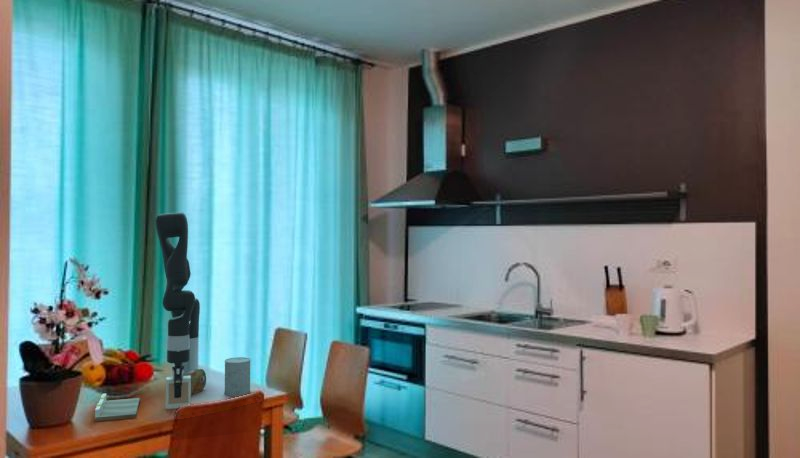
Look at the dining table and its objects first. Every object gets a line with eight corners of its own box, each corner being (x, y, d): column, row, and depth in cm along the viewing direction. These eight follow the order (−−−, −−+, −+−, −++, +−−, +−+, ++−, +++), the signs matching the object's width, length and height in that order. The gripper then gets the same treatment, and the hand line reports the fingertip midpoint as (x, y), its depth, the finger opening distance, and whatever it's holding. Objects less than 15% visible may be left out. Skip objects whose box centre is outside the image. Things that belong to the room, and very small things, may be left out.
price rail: (102, 400, 208) (102, 393, 208) (106, 400, 209) (106, 392, 209) (94, 417, 189) (94, 409, 189) (99, 417, 190) (99, 408, 190)
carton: (166, 405, 207) (166, 377, 207) (190, 403, 210) (190, 375, 210) (165, 409, 203) (166, 380, 203) (190, 407, 206) (190, 378, 206)
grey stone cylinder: (255, 392, 225) (255, 360, 225) (232, 397, 218) (232, 363, 218) (242, 387, 232) (242, 356, 232) (219, 392, 225) (219, 359, 225)
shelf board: (102, 404, 208) (102, 400, 208) (139, 401, 212) (139, 397, 212) (94, 421, 189) (94, 417, 189) (135, 417, 194) (135, 413, 194)
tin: (185, 399, 216) (185, 376, 216) (177, 398, 216) (177, 375, 216) (206, 388, 230) (207, 366, 230) (199, 388, 231) (199, 366, 231)
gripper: (167, 345, 212) (166, 390, 212) (166, 352, 199) (165, 400, 198) (189, 343, 215) (189, 388, 214) (190, 350, 201) (189, 398, 201)
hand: (177, 394), depth 206 cm, fingers open, 8 cm apart
